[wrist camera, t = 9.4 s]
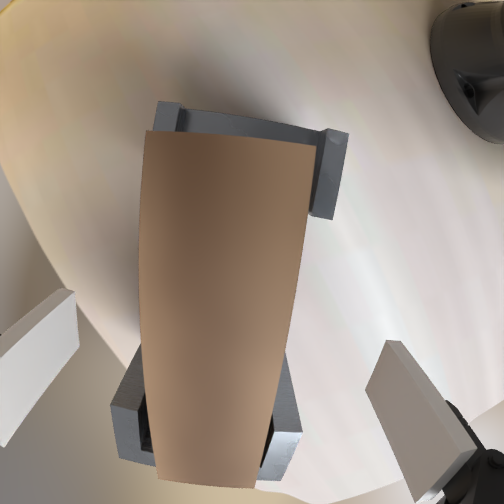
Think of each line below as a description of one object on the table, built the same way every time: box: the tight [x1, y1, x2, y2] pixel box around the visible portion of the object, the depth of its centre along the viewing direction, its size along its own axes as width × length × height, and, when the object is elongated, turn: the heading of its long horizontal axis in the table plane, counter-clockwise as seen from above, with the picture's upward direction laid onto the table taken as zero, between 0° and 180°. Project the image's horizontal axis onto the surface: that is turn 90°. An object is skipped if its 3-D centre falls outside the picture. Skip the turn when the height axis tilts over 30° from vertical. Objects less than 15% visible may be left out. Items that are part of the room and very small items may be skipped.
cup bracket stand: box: [110, 101, 349, 481], centre depth 19 cm, size 10×20×13 cm, turn 170°
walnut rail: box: [139, 131, 316, 488], centre depth 14 cm, size 5×16×6 cm, turn 174°
